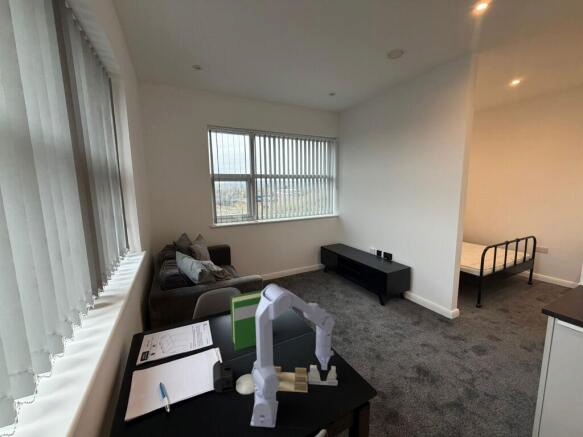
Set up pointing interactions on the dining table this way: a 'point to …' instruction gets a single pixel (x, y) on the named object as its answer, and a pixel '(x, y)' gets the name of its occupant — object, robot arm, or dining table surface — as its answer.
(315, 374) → the white curved panel
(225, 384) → the end cap
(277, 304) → the robot arm
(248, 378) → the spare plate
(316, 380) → the plate stand
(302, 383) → the dish rack
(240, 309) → the hardback book
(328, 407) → the dining table surface
